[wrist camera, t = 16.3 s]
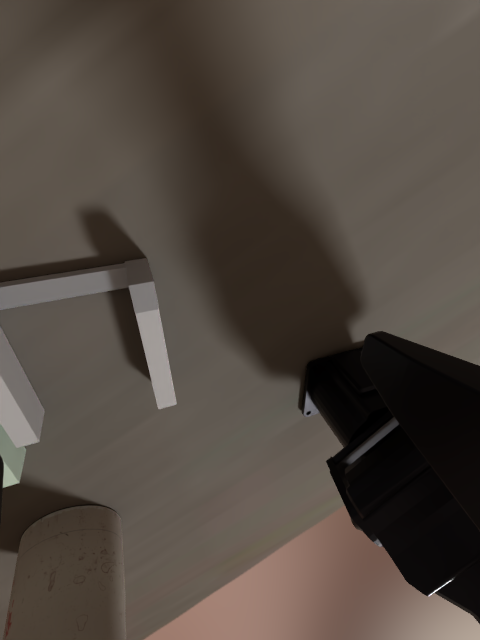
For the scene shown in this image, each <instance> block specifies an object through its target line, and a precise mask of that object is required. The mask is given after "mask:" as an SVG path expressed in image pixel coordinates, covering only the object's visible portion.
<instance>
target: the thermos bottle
mask: <svg viewBox="0 0 480 640" xmlns="http://www.w3.org/2000/svg"><path fill="white" fill-rule="evenodd" d="M3 640H126V609H125V580H124V561H123V542H122V524H121V519H120V516H119V515H118V514H117V513H116V512H115V511H113V510H112V509H109V508H106V507H102V506H93V505H86V506H76V507H71V508H66V509H63V510H59V511H56V512H54V513H51V514H49V515H46V516H45V517H43V518H41V519H39V520H37V521H36V522H35V523H33V524H32V525H31V526H30V527H29V528H28V529H27V530H26V531H25V532H24V534H23V536H22V537H21V541H20V546H19V551H18V557H17V563H16V568H15V574H14V580H13V585H12V591H11V597H10V602H9V608H8V614H7V619H6V625H5V631H4V637H3Z"/></svg>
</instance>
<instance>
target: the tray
mask: <svg viewBox="0 0 480 640" xmlns="http://www.w3.org/2000/svg"><path fill="white" fill-rule="evenodd" d="M25 453H26V449H25V447H24V446H23V447H19V448H16V446H15V445H14V443H13V442H12V440H11V439H10V437H9V436H8V434H7V433H6V431H5V430H4V428H3V427H2V425H1V424H0V455H1V457H2V459H3V463H4V476H3V488H4V487H7V486H11V485H14V484H17V483H20V478H21V473H22V468H23V463H24V458H25Z"/></svg>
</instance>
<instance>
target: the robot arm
mask: <svg viewBox="0 0 480 640" xmlns="http://www.w3.org/2000/svg"><path fill="white" fill-rule="evenodd" d="M318 413H320V414H321V415H322V417H323V418H324V420H325V421H326V422H327V424H328V425H329V427H330V428H331V430H332V431H333V432H334V434H335V435H336V437H337V438H338V440H339V441H340V443H341V444H342V445H343V447H344V448H343V449H342V450H341V451H340V452H338V453H337V454H336V455H335V456H334V457H330V458H329V459H328V460H327V461H326V462H327V464H328V467H329V469H330V474H331V476H332V478H333V480H334V482H335V484H336V487H337V489H338V491H339V493H340V495H341V498H342V500H343V502H344V504H345V506H346V509H347V511H348V513H349V515H350V517H351V521H352V523H353V525H354V526H355V528H356V529H358V530H361V531H363V532H364V533H365V534H366V535H367V536H368V538H370V539H371V540H372V541H373V542H374V543H375V544H377V545H378V546H380V547H384V548H385V549H386V551H387V552H388V554H389V555H390V557H391V558H392V560H393V561H394V563H395V564H396V566H397V567H398V569H399V570H400V572H401V574H402V575H403V577H404V578H405V580H406V581H407V582H408V583H409V584H410V585H412V586H413V587H415V588H416V589H417V590H419V591H420V592H422V593H423V594H424V595H426V596H430V595H431V594H433V593H436V594H437V595H439V596H441V597H442V598H444V599H446V600H447V601H449V602H451V603H453V604H454V605H456V606H458V607H460V608H461V609H463V610H465V611H466V612H468V613H470V614H471V615H472V616H474V618H475V619H476V620H477V621H478V623H479V624H480V366H478V365H476V364H473V363H470V362H467V361H464V360H462V359H459V358H456V357H453V356H450V355H448V354H445V353H442V352H439V351H436V350H434V349H431V348H428V347H425V346H422V345H420V344H417V343H414V342H411V341H408V340H406V339H403V338H400V337H397V336H394V335H392V334H389V333H386V332H383V331H378V332H375V333H371V334H368V335H367V336H366V337H365V341H364V345H363V348H359V349H356V350H352V351H348V352H344V353H341V354H337V355H333V356H330V357H326V358H322V359H318V360H315V361H312V362H310V363H309V364H308V365H307V370H306V379H305V387H304V396H303V404H302V414H303V415H304V416H305V417H308V416H311V415H315V414H318ZM3 476H4V463H3V459H2V457H1V455H0V523H1V507H2V492H3Z"/></svg>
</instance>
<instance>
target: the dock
mask: <svg viewBox="0 0 480 640" xmlns="http://www.w3.org/2000/svg"><path fill="white" fill-rule="evenodd" d="M128 287H129V290H130V294H131V298H132V302H133V307H134V311H135V314H136V318H137V322H138V326H139V330H140V334H141V339H142V343H143V347H144V351H145V355H146V360H147V364H148V368H149V372H150V376H151V380H152V385H153V389H154V393H155V397H156V401H157V406H158V409H162V408H165V407H169V406H173V405H176V404H177V403H176V397H175V392H174V387H173V382H172V376H171V371H170V366H169V361H168V355H167V350H166V345H165V340H164V334H163V329H162V324H161V319H160V313H159V306H158V301H157V295H156V290H155V285H154V280H153V277H152V273H151V270H150V267H149V263H148V260H147V258H143V259H137V260H130V261H125V263H122V264H116V265H109V266H103V267H96V268H90V269H84V270H77V271H71V272H64V273H58V274H51V275H45V276H39V277H32V278H26V279H19V280H13V281H6V282H0V310H3V309H8V308H14V307H20V306H25V305H31V304H37V303H43V302H48V301H54V300H60V299H65V298H71V297H77V296H83V295H88V294H94V293H100V292H106V291H111V290H117V289H123V288H128ZM44 411H45V410H44V409H43V407H42V405H41V403H40V401H39V399H38V397H37V395H36V393H35V391H34V390H33V388H32V386H31V384H30V382H29V380H28V378H27V376H26V374H25V372H24V370H23V369H22V367H21V365H20V363H19V361H18V359H17V357H16V355H15V353H14V351H13V350H12V348H11V346H10V344H9V342H8V340H7V338H6V336H5V334H4V332H3V330H2V329H1V327H0V424H1V425H2V427H3V428H4V430H5V431H6V433H7V434H8V436H9V437H10V439H11V440H12V442H13V443H14V445H15V446H16V448H19V447H23V446H26V445H30V444H33V443H37V442H39V441H40V435H41V429H42V423H43V417H44Z"/></svg>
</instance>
